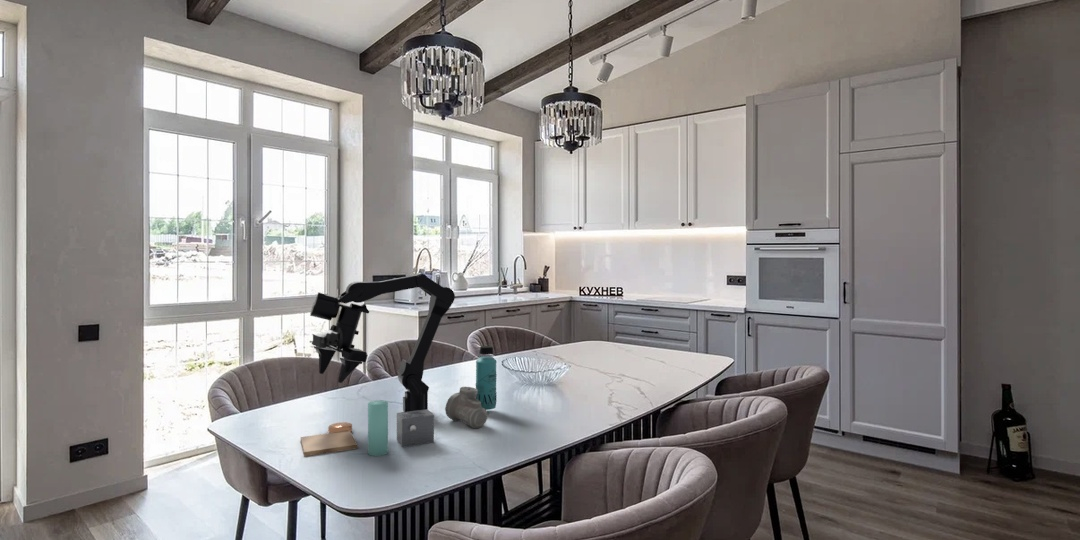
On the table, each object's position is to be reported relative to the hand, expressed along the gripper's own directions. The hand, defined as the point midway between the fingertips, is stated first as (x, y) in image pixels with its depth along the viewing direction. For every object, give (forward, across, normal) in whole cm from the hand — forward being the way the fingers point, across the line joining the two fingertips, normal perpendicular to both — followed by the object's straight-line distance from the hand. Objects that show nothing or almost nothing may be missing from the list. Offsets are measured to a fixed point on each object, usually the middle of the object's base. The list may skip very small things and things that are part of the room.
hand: (330, 378), depth 157 cm
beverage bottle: (0, +30, +35) cm, 46 cm away
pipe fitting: (+2, +34, +24) cm, 41 cm away
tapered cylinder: (+10, +32, -5) cm, 34 cm away
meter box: (+7, +33, +5) cm, 34 cm away
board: (+12, +18, -8) cm, 24 cm away
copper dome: (+12, +12, -1) cm, 17 cm away
